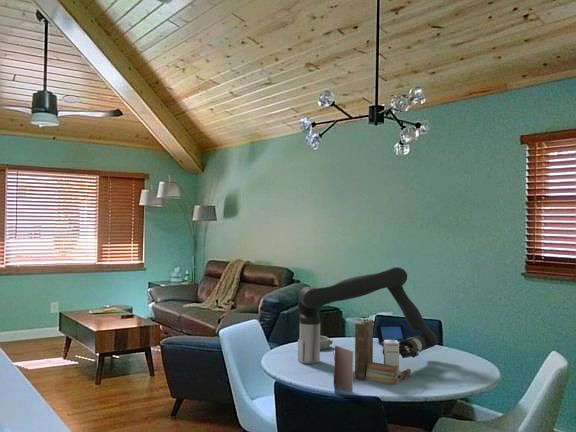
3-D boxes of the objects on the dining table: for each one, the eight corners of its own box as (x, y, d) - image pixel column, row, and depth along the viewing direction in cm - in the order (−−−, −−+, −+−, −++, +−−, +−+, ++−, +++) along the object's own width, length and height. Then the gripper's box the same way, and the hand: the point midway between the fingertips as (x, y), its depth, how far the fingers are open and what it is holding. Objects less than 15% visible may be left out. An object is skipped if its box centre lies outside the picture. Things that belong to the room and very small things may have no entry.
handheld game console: (385, 348, 272) (385, 330, 272) (375, 342, 285) (375, 325, 286) (413, 347, 276) (413, 329, 276) (402, 341, 289) (402, 324, 289)
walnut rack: (391, 386, 206) (391, 328, 206) (354, 379, 216) (355, 323, 216) (410, 376, 220) (411, 322, 220) (375, 370, 230) (376, 318, 230)
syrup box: (399, 379, 217) (399, 342, 217) (384, 378, 217) (385, 342, 217) (397, 375, 222) (397, 339, 223) (383, 374, 223) (383, 339, 223)
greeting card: (332, 384, 208) (332, 345, 208) (351, 385, 207) (352, 345, 208) (332, 393, 197) (332, 352, 197) (352, 394, 196) (353, 352, 196)
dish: (310, 351, 263) (310, 341, 263) (298, 345, 275) (298, 336, 275) (336, 349, 268) (336, 339, 268) (323, 343, 281) (323, 334, 281)
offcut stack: (393, 385, 207) (393, 369, 208) (365, 379, 215) (365, 364, 215) (400, 382, 212) (400, 366, 212) (372, 376, 220) (372, 361, 220)
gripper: (394, 336, 239) (377, 342, 226) (425, 340, 230) (409, 347, 217) (394, 353, 238) (377, 360, 225) (425, 358, 230) (409, 365, 217)
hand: (393, 353), depth 221 cm, fingers open, 8 cm apart
